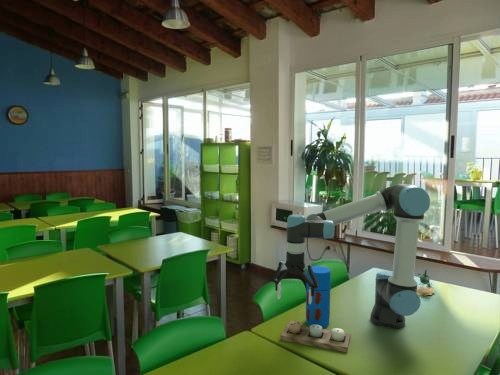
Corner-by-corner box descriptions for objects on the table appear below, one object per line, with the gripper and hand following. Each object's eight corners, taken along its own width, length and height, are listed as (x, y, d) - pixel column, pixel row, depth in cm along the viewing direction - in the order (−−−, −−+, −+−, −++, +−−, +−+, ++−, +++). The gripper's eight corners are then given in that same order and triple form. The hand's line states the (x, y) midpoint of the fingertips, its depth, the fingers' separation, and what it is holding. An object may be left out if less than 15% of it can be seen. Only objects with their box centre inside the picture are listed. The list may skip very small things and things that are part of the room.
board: (350, 338, 156) (350, 333, 156) (347, 352, 145) (347, 347, 145) (288, 327, 166) (288, 323, 166) (280, 339, 155) (280, 335, 154)
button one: (344, 336, 154) (344, 328, 153) (343, 341, 149) (343, 334, 149) (332, 334, 155) (332, 326, 155) (330, 339, 151) (330, 332, 150)
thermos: (329, 329, 164) (330, 274, 162) (305, 326, 167) (306, 272, 164) (329, 318, 175) (330, 266, 173) (306, 316, 177) (307, 265, 175)
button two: (322, 332, 157) (323, 325, 156) (320, 337, 152) (320, 330, 152) (311, 330, 159) (311, 323, 158) (308, 335, 154) (308, 328, 154)
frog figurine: (443, 292, 210) (443, 267, 207) (423, 302, 201) (422, 276, 198) (427, 287, 218) (427, 263, 215) (407, 296, 209) (407, 271, 207)
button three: (301, 328, 160) (301, 321, 160) (299, 334, 155) (299, 326, 155) (290, 326, 162) (290, 319, 161) (287, 331, 157) (287, 324, 157)
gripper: (326, 252, 155) (325, 301, 157) (269, 246, 164) (269, 293, 166) (323, 257, 148) (322, 308, 150) (264, 250, 157) (263, 299, 159)
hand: (294, 300), depth 158 cm, fingers open, 13 cm apart
